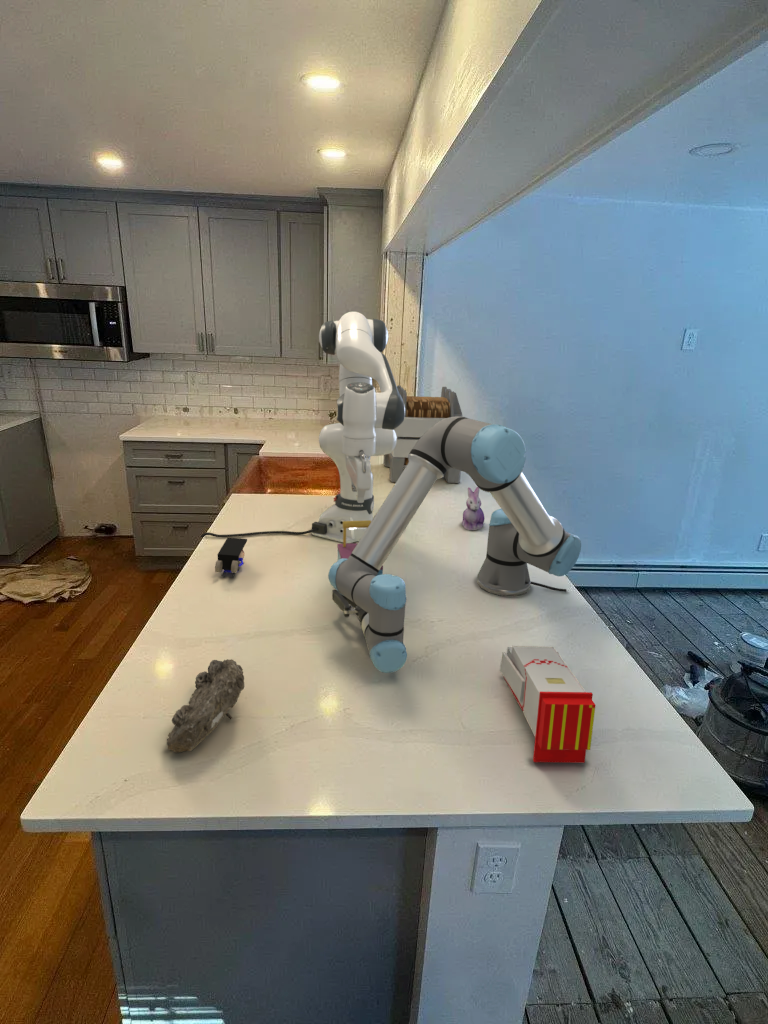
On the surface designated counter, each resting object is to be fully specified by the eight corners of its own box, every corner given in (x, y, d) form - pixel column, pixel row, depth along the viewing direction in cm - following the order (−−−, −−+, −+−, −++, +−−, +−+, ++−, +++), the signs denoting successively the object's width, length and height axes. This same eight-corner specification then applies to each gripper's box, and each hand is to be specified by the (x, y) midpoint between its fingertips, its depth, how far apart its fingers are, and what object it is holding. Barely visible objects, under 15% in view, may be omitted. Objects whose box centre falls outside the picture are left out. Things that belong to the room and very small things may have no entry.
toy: (549, 628, 125) (605, 700, 96) (544, 683, 128) (596, 770, 99) (495, 627, 125) (534, 699, 95) (491, 683, 128) (527, 769, 98)
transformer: (382, 463, 289) (386, 382, 275) (445, 464, 293) (451, 384, 279) (390, 482, 257) (394, 392, 243) (460, 483, 261) (468, 394, 247)
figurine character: (238, 584, 162) (249, 557, 175) (236, 562, 158) (247, 536, 172) (215, 584, 161) (227, 556, 175) (212, 561, 158) (225, 535, 171)
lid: (337, 547, 160) (337, 518, 157) (372, 545, 162) (373, 517, 159) (344, 571, 146) (345, 540, 143) (383, 569, 148) (384, 538, 145)
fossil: (192, 660, 117) (244, 628, 112) (224, 691, 120) (276, 661, 115) (142, 746, 98) (202, 712, 93) (182, 779, 101) (242, 748, 96)
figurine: (470, 532, 203) (474, 493, 198) (454, 523, 212) (457, 484, 207) (491, 529, 208) (495, 490, 202) (474, 520, 216) (478, 482, 211)
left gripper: (378, 456, 140) (375, 508, 145) (364, 437, 159) (362, 485, 163) (352, 456, 139) (351, 509, 143) (341, 438, 157) (341, 485, 162)
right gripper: (328, 640, 130) (318, 594, 151) (423, 632, 135) (401, 589, 155) (328, 611, 128) (319, 568, 148) (425, 605, 132) (403, 564, 153)
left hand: (357, 496), depth 154 cm, fingers open, 8 cm apart
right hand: (361, 579), depth 152 cm, fingers closed on chest, 10 cm apart
